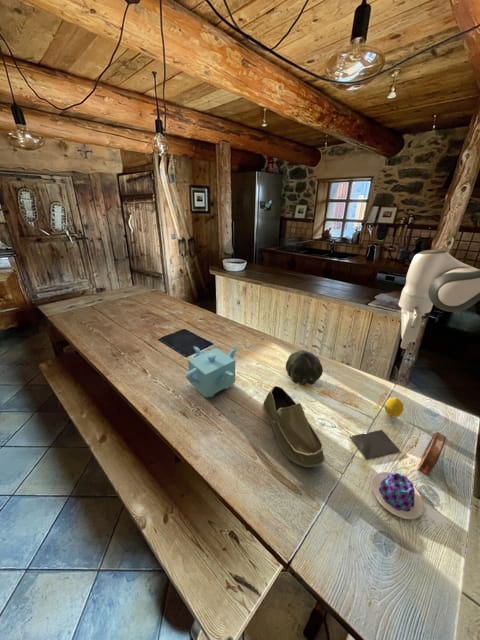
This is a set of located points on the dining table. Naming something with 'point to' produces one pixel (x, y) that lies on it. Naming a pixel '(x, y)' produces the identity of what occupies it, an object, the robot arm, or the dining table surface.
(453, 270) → the robot arm
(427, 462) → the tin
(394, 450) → the slate coaster
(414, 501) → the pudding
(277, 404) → the loafer
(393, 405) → the lemon
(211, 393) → the teal knobbed box
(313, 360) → the squash
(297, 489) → the dining table surface
